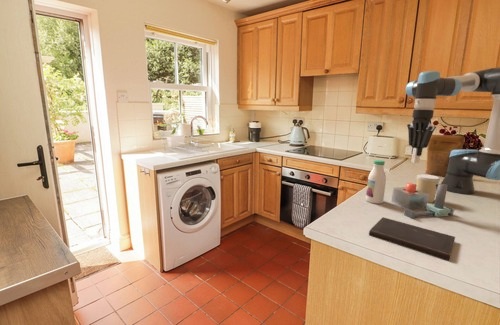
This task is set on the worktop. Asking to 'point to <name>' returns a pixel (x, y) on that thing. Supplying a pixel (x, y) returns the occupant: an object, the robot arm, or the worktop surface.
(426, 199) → the grey block with hole
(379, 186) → the milk bottle
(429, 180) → the coffee cup
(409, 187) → the button
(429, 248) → the hardcover book
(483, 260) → the worktop surface
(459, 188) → the robot arm
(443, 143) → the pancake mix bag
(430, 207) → the carriage
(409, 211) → the rail
